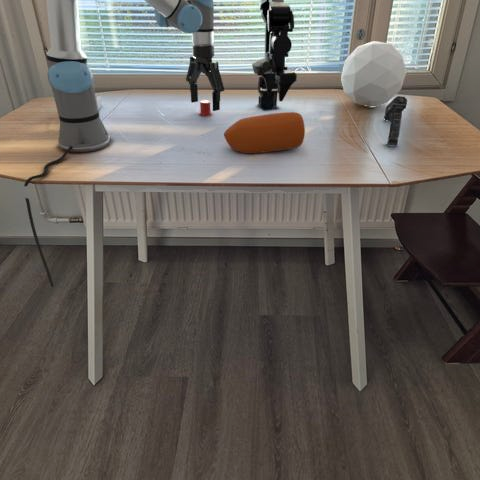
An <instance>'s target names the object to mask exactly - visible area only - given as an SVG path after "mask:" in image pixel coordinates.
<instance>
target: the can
mask: <svg viewBox="0 0 480 480" xmlns="http://www.w3.org/2000/svg"><path fill="white" fill-rule="evenodd" d="M199 110H200V116H202V117H208V116H211V101H210V100H208V99H203V100H200V101H199Z"/></svg>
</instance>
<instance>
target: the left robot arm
mask: <svg viewBox="0 0 480 480" xmlns="http://www.w3.org/2000/svg"><path fill="white" fill-rule="evenodd" d="M45 1H46V12H47V21H48V22H47V23H48V30H49V41H50V48H49V50H48V51H46V62H47V79H48V83H49V86H50V88H51V91H52V93H53V94H52V95H53V98H54V102H55V107H56V111H57V114H58V118H59V132H58V133H59V134H58V145H59V148H60V149H61V150H62V151H64V153H63V154H62V155H61V157H59V158H58V159H55V160H52V161H50V162H48V163H46V164H45V165H44V167H43V172H42V173H40V174H36V175H32V176H30V177H28V178H27V179H26V180H25V182H24V184H23V187H28V186H29V183H31V181H33V180H36V179H39V178H43V177H45V176H46V175H47V173H48V168H49V167H50V166H53V165H55V164H58V163H60V162H61V161H63V160H64V159H65V158H66V157H67V155H68V153H74V154H76V153H77V154H81V153H82V154H83V153H90V152H96V151H99V150H102V149H104V148H106V147H107V146H108V145H109V144H110V143H111V140H110V139H111V138H110V135H109V133H108V130H107V129H106V127H105V125H104V123H103V121H102V120H101V116H100V112H99V110H98V106H97V100H96V95H97V94H96V90H95V85H94V76H93V73H92V71H91V68H90V66H88V58H87V57H88V56H87V55H86V54H85V52H84V51H83V50H82V43H81V28H80V13H79V0H45ZM144 1H145V2H146V3H147V4H148V5H149V6H151V7H152V8H153V9H154V17H155V18H154V19H155V21H156V24H157V26H158V27H160V28H163V27H164V28H170V27H171V28H175V29H177V30H179V31H181V32H182V33H185V34H191V42H192V44H193V45H192V56H189V65H188V69H187V73H186V77H185V82H187V83H188V84H189V88H190V89H189V91H190V102H191V103H197V102H199V92H198V88H199V87H198V79H199V77H200V76H201V74H204V75H205V76H206V77H207V79H208V81H209V84H210V86H211V89H212V90H213V91H212V93H211V95H212V96H211V97H212V99H211V100H212V111H213V112H216V111H220V110H221V104H220V103H221V93H222V92H225V86H224V83H223V79H222V76H221V75H222V74H221V73H220V68H219V62H218V61H213V58H214V57H215V45H214V43H215V33H214V30H215V29H214V25H215V24H214V23H215V22H214V21H215V20H214V13H215V12H214V10H215V7H214V6H215V5H214V0H144ZM24 199H25V204H26V208H27V209H26V210H27V214H28V219H29V223H30V228H31V232H32V236H33V238H34V241H35V244H36V248H37V251H38V253H39V255H40V258H41V261H42V264H43V266H44V270H45V273H46V275H47V278H48V281H49V284H50V287H51V288H53V287H54V286H55V285H54V282H53V279H52V276H51V272H50V269H49V266H48V264H47V261H46V259H45V256H44V253H43V250H42V247H41V244H40V241H39V238H38V234H37V231H36V227H35V223H34V219H33V214H32V210H31V209H32V208H31V203H30V199H29V198H28V197H24Z"/></svg>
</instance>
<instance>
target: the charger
mask: <svg viewBox="0 0 480 480" xmlns="http://www.w3.org/2000/svg"><path fill="white" fill-rule="evenodd" d="M95 95H96V100H97V106H98V111H99V110H100V109H101V108H102V107H103V102H102V96H100V95H99V94H95Z"/></svg>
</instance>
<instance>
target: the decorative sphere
mask: <svg viewBox="0 0 480 480" xmlns="http://www.w3.org/2000/svg"><path fill="white" fill-rule="evenodd" d="M407 72H408V71H407V68H406V65H405V61H404V57H403V55H402V54H401V52H400V51H398V49H397V48H396V47H395V46H394V44H392V43H389V42H382V41H376V40H371V41H369V42H367V43H364V44H361V45H358V46H357V47H356V48H355V49H354V50H353V51H352V52H351V53H350V54H349V55H348V57H347V58H346V59H345V60H344V63H343V66H342V71H341V74H340V75H341V76H340V82H341V85H342V89H343V90H342V91H343V93H344V95H345V96H346V97H348V98H349V100H351V101H352V102H353V101H354V102H353V103H355V104H356V105H359V106H362V105H367V106H376V107H369V109H374V108H377V107H379V106H382V105H384V104H387V103H389V102H390V101H391V100H392V99H394V98H395V96H396V95H397V94H398V93H399V92H400V91H401V90H402V87H403V84H404V82H405V78H406V75H407ZM381 104H382V105H381ZM378 105H379V106H378ZM367 106H365V107H366V108H368V107H367Z"/></svg>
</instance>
